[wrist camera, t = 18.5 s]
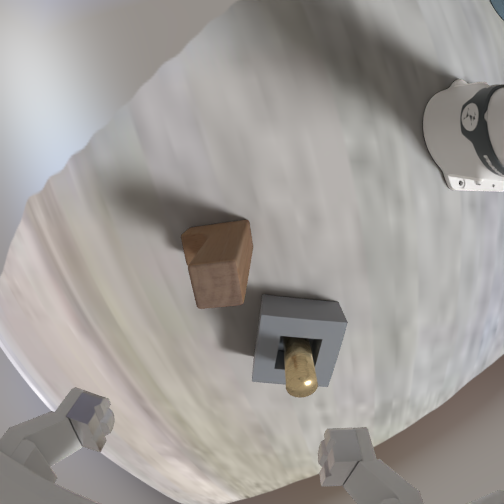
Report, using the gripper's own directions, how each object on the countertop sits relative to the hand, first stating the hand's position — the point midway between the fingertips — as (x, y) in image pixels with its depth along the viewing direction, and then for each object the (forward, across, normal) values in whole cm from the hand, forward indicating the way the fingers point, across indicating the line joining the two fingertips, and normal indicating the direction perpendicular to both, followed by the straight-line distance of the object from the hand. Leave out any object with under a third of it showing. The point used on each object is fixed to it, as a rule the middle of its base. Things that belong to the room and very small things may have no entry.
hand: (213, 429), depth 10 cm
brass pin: (+34, -8, +17) cm, 39 cm away
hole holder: (+35, -8, +17) cm, 40 cm away
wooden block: (+35, +5, +3) cm, 36 cm away
